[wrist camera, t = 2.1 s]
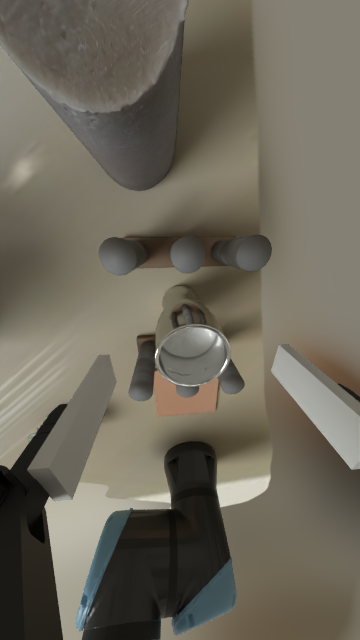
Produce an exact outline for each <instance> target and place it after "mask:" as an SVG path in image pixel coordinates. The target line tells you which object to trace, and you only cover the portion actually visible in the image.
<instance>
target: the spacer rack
mask: <svg viewBox="0 0 360 640" xmlns="http://www.w3.org/2000/svg"><path fill="white" fill-rule="evenodd" d="M235 237H236V236H209V237H192V236H185V237H149V238H117V237H112V238H108V239H106V240H105V241H104V242H103V243H102V244H101V246H100V249H99V258H100V261H101V263H102V265H103V266H104V268H105V269H106V270H107V271H109V272H110V273H112V274H115V275H126V274H128V273H130V272H131V271H133V270H134V269H136V268H167V267H175V268H176V269H177V270H179V271H180V272H182V273H193V272H195V271H197V270H198V269H199V268H200V267H203V266H232V267H236V268H239V269H243V270H246V271H257V270H259V269H261V268H262V267H264V266H265V265H266V263H267V262H268V261H269V259H270V256H271V250H272V248H271V243H270V241H269V240H268V239H267V238H266V237H265V236H262V235H253V236H247V237H240V238H235ZM224 335H225V334H224ZM137 345H138V352H139V355H138V359H137V362H136V366H135V370H134V373H133V377H132V381H131V385H130V388H129V396H130V397H131V398H132V399H134V400H136V401H146V400H148V399H150V398H151V397H152V394H153V385H154V375H155V365H156V364H155V335H150V336H137ZM218 380H219V382H220V385H221V387H222V390H223V391H224V392H225V393H227V394H235V393H238V392H240V391H241V390H242V389H243V388H244V381H243V379H242V377H241V375H240V374H239V372H238V370H237V368H236V367H235V365H234V363H233V362H232V360H231V358H230V361H229V364H228V366H227V368H226V369H225V371H224V372H223V373H222V374H221V375H220V376H219V377H218ZM198 391H199V386H195V387H184V386H179V385H176V392H177V394H178V395H179V396H181V397H184V398H189V397H193V396H195V395H196V394H197V393H198Z"/></svg>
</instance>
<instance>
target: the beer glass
mask: <svg viewBox="0 0 360 640" xmlns="http://www.w3.org/2000/svg"><path fill="white" fill-rule="evenodd" d="M162 306H163V311H162V313H161V315H160V317H159V319H158V322H157V327H156V333H155V364H156V367H157V370H158V371H159V373H160V374H161V375H162V376H163V377H164V378H165V379H166V380H167V381H169V382H171V383H173V384H175V385H179V386H184V387H195V386H201V385H204V384H207V383H209V382H211V381H213V380H215V379H216V378H218V377H219V376H220V375H221V374H222V373H223V372H224V371H225V369H226V368H227V366H228V364H229V361H230V358H231V348H230V344H229V342H228V340H227V338H226V337H225V335H224V332H223V330H222V328H221V326H220V324H219V323H218V321H217V319H216V318H215V316H214V315H213V314H212V312H211V311H210V310H209V309H208V308H207V307H206V306H204V305H203V304H202V303H200V302H199V301H198V298H197V296H196V294H195V292H194V291H193V290H192V289H190V288H188V287H186V286H175V287H173V288H171V289H169V290H168V291H167V292H166V294H165V295H164V297H163V301H162Z"/></svg>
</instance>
